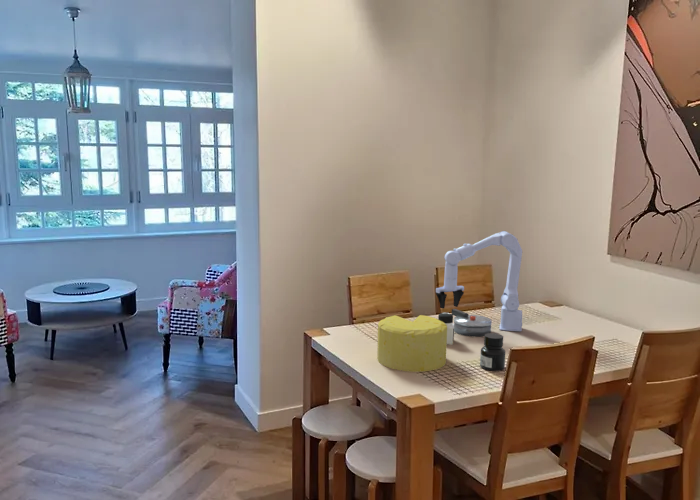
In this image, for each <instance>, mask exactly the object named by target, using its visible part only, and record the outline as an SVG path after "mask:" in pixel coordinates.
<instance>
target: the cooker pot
mask: <svg viewBox="0 0 700 500" xmlns="http://www.w3.org/2000/svg"><path fill="white" fill-rule="evenodd" d="M453 324H454V334H455V333H456V335H461V336H465V337H470V338H471V337H472V338H474V337H475V338H484V335H485V334H488V333H492V332H491V331H492V324H491V325H490V326H487V327H466V326H461V325H458V324H456V323H455V322H454V321H453Z"/></svg>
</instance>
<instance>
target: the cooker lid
mask: <svg viewBox="0 0 700 500" xmlns="http://www.w3.org/2000/svg"><path fill="white" fill-rule="evenodd" d="M451 314H452V315H453V323H454V322H455V323H456V324H458V325H461V326H466V327H487V326H490V325H491V326H492V324H493V322H492V321H493V320H492V319H491V318H489V317H488V316H485V315H484V316H483V315H478V314H469V313H468V312H464V311H462V310H459V309H457V308H452V309H451Z"/></svg>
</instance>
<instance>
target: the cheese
mask: <svg viewBox="0 0 700 500" xmlns="http://www.w3.org/2000/svg"><path fill="white" fill-rule="evenodd" d="M447 345H448V344H447V325H446V324H445V323H444V322H443V321H440V320H438V318H436V317H432V316H429V315H423V314H420V315H418V316H417V317H416V318H415V319H414V320H413V321H412V320H410V319H407V318H403V317H402V316H398V315H391V316H387V317H385V318H383V319H381V320H379V321H378V324H377V351H376V353H377V356H376V357H377V358H376V360H377V362H378V363H379V364H381V365H382V366H384V367H386V368H389V369H392V370H396V369H397V370H396V371H401V370H402V371H401V372H412V373H413V372H414V373H415V372H416V373H417V372H418V373H419V372H428V371H435V370H438V369H441V368H442V367H444V366H446V362H447Z"/></svg>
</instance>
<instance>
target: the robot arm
mask: <svg viewBox="0 0 700 500" xmlns="http://www.w3.org/2000/svg"><path fill="white" fill-rule="evenodd" d="M490 246H502V247H504V248H505V249H506V251H508V252H509V259H508V268H507V276H506V284H505V288H504V289H503V292H502V295H501V297H500V303H501V304H502V306H501V309H500V324H499V327H498V328H499V330H500V331H508V332H509V331H512V332H522V330H523V328H522V327H523V310H521V309H519V307H520V301H519V291H518V287H519V279H520V272H521V265H522V257H523V256H522V255H523V249H522V247H521V245H520V242H519V240H518V238H517V237H516V236H515V235H513V234H512V233H510V232H508V231H506V230H505V231H504V230H502V231H500V232H496V233H493V234H491V235H489V236H487V237H485V238H484V239H481V240H480V241H477V242H475V243H474V244H473V243H463V244H462V246H460V247H457V248H455V247H454V248H453V250H448V251H447V252H446V253H445V254H444V257H443V258H444V260H445V264H444V276H443V277H444V279H443V285H442V286H439V287H436V288H435V294H436V296H437V299H438V303H439V307H440V309H443V310H444V309H445V307H446V306H445V305H446V300H447V297H448V294H447V293H451V292H452V295H453V307H456V308H458V307H459V304H460V301H461V299H462V298H463V296H464V294H465V293H464V291H465V286H463V285H458V272H459V271H458V270H459V269H458V267H459V266H458V264H459V262H460V261H464V260H466V259H469V258H470V257H472V256H474V255H475V254H476V252H477V251H480V250H483V249H485V248H487V247H490Z"/></svg>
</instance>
